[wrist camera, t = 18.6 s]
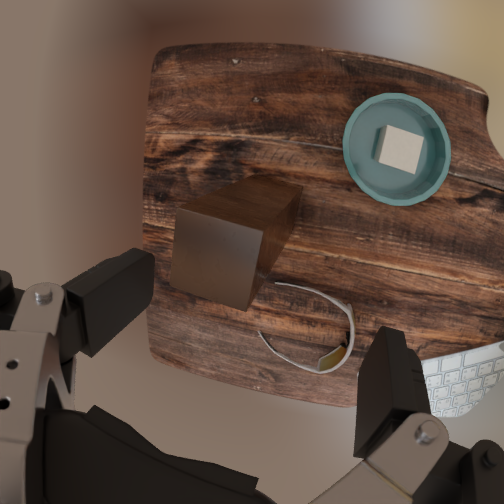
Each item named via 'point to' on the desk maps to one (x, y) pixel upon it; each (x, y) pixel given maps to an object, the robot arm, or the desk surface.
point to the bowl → (386, 177)
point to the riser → (233, 239)
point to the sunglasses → (334, 357)
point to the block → (398, 148)
